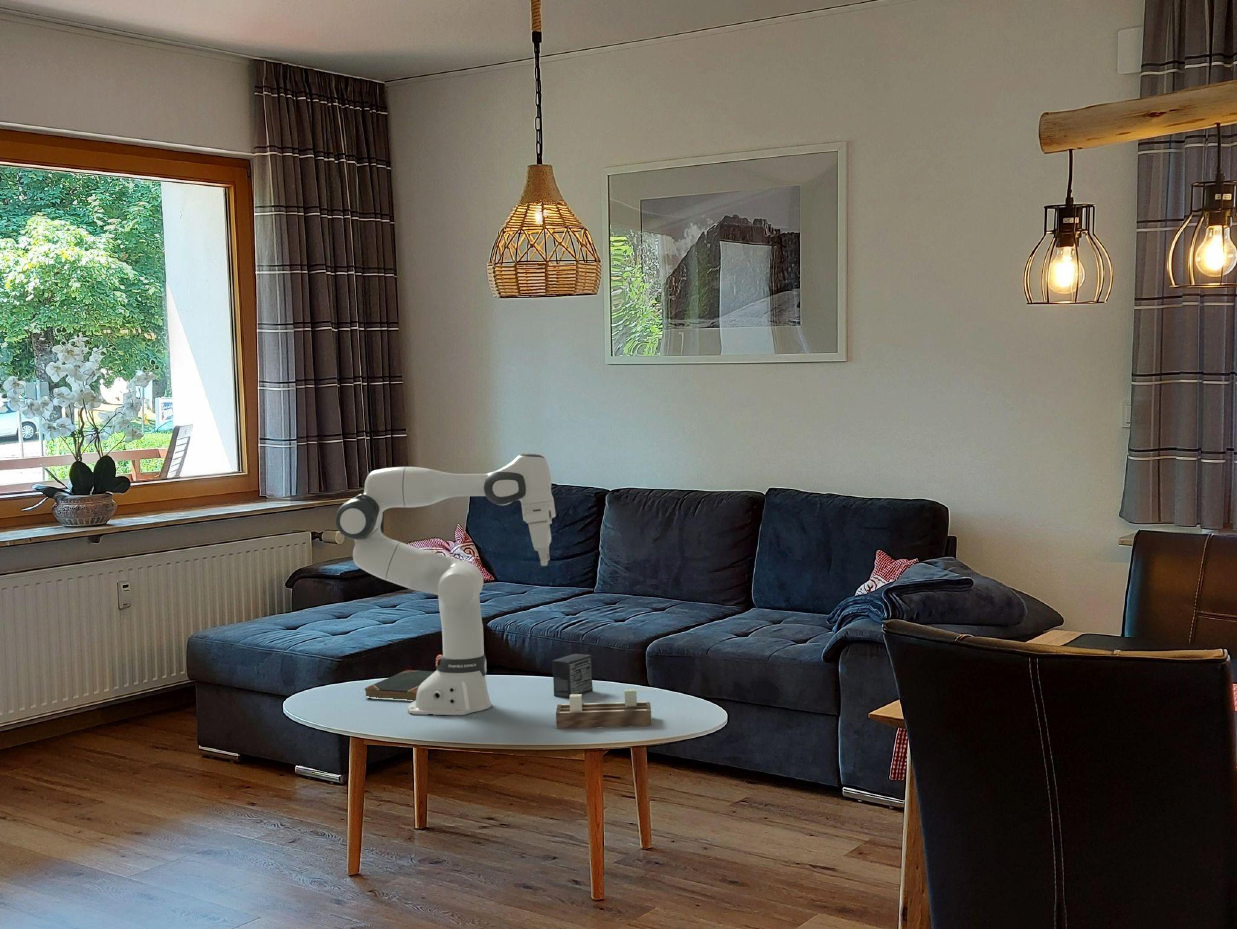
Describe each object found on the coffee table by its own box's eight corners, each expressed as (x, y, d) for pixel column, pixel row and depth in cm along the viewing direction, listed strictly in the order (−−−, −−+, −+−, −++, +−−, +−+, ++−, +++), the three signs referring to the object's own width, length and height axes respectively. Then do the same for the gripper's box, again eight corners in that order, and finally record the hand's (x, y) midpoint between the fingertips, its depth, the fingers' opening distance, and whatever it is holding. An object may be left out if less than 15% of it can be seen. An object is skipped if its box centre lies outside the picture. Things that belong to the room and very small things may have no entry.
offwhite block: (570, 718, 320) (569, 696, 320) (570, 716, 323) (569, 694, 322) (582, 718, 320) (581, 696, 320) (582, 715, 323) (581, 694, 322)
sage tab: (625, 713, 324) (624, 691, 324) (625, 710, 327) (624, 689, 326) (636, 712, 324) (636, 691, 324) (636, 710, 327) (636, 688, 326)
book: (406, 681, 381) (363, 700, 358) (406, 669, 381) (363, 688, 358) (458, 684, 376) (418, 704, 352) (458, 672, 375) (418, 691, 352)
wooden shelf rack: (556, 728, 319) (555, 712, 319) (558, 719, 328) (557, 703, 328) (651, 726, 319) (650, 709, 319) (650, 717, 328) (650, 701, 328)
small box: (575, 688, 363) (574, 652, 362) (593, 691, 359) (592, 654, 358) (552, 696, 354) (551, 659, 354) (570, 699, 350) (569, 661, 350)
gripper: (529, 510, 352) (536, 559, 353) (524, 517, 332) (531, 569, 333) (552, 507, 352) (558, 556, 353) (548, 514, 332) (555, 566, 333)
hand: (545, 563), depth 343 cm, fingers open, 8 cm apart
